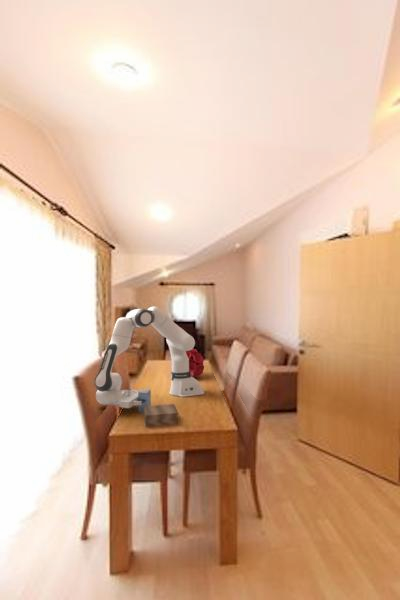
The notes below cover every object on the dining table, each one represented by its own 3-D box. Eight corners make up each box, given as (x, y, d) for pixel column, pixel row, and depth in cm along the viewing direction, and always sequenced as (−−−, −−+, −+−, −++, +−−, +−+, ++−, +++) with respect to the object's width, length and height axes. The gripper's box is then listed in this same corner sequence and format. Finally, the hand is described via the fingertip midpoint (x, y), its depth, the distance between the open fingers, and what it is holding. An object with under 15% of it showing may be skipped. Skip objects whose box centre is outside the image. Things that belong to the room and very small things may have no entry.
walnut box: (174, 415, 191) (174, 404, 191) (178, 425, 177) (178, 413, 177) (144, 417, 188) (143, 406, 187) (145, 427, 174) (145, 415, 174)
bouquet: (171, 383, 280) (177, 372, 255) (171, 354, 292) (177, 341, 266) (198, 384, 284) (206, 372, 259) (197, 355, 296) (205, 342, 270)
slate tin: (142, 409, 200) (142, 388, 199) (150, 410, 198) (150, 389, 198) (138, 412, 195) (137, 390, 195) (146, 413, 193) (146, 391, 193)
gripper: (113, 398, 190) (136, 400, 186) (131, 388, 210) (153, 389, 206) (113, 409, 190) (137, 412, 186) (131, 398, 210) (153, 400, 206)
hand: (145, 400), depth 196 cm, fingers open, 8 cm apart
